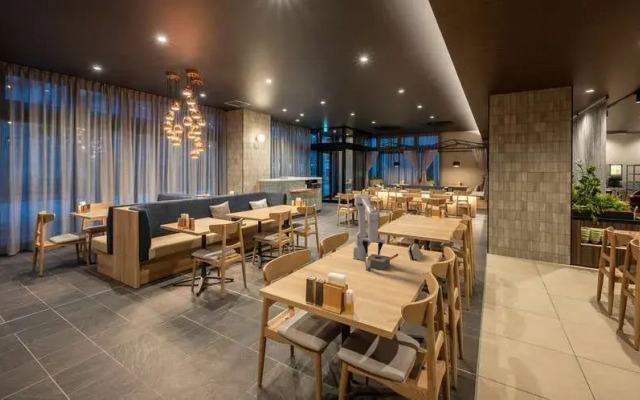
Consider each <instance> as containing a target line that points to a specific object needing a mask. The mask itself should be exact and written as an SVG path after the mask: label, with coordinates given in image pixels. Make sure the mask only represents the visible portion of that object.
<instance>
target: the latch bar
mask: <svg viewBox="0 0 640 400" xmlns="http://www.w3.org/2000/svg"><path fill="white" fill-rule="evenodd" d="M398 256H399V254H398V253H396V254H394V255H392V256H389V257H390V258H388V259H387V261H389V260H390V261H391V260H393V259H395V258H397V257H398Z"/></svg>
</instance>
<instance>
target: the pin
mask: <svg viewBox="0 0 640 400" xmlns="http://www.w3.org/2000/svg"><path fill="white" fill-rule="evenodd" d="M365 271H367V272H370V271H372V268H371V257H369V256H368V257H366V267H365Z"/></svg>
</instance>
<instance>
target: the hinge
mask: <svg viewBox="0 0 640 400" xmlns="http://www.w3.org/2000/svg"><path fill="white" fill-rule="evenodd" d="M407 253H408V256H409V260H410V261H413V260H416V261H417V262H419V261H420V259H421V258H423V256H424V253H423V252H422V251H421V250H420V246H419V244H418V243H414V244H413V243H412V244H411V245H409V246H408V248H407Z"/></svg>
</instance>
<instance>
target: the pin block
mask: <svg viewBox="0 0 640 400" xmlns="http://www.w3.org/2000/svg"><path fill="white" fill-rule="evenodd" d="M368 257H371V269H377V270H382V271H384V270H386V268H387V267H389V266H390V265H391V260H389V261H387V259H388V258H390V257H391V256H385V255H381V254H380V255H378V254H376V253H375V254H374V253H372V254H370V255H368ZM365 268H366V259H365Z"/></svg>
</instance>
